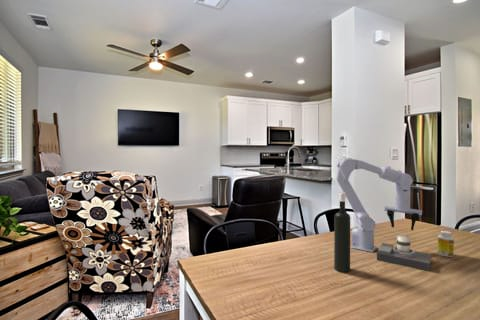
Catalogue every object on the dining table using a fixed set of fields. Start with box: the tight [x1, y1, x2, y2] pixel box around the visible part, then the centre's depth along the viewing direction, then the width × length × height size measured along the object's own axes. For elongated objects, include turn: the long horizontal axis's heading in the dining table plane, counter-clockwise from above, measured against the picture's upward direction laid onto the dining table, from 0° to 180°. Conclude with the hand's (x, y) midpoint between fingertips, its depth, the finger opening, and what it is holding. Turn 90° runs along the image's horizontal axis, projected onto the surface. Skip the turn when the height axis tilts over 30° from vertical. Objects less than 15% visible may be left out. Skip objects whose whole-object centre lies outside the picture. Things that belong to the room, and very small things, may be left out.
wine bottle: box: [333, 191, 351, 273], centre depth 101 cm, size 6×6×30 cm
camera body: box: [376, 242, 432, 272], centre depth 110 cm, size 18×12×4 cm, turn 52°
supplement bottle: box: [437, 230, 455, 258], centre depth 115 cm, size 6×6×10 cm
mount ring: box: [393, 246, 416, 257], centre depth 110 cm, size 8×8×2 cm
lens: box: [396, 234, 411, 253], centre depth 109 cm, size 5×5×7 cm
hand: (402, 228), depth 121 cm, fingers open, 7 cm apart
